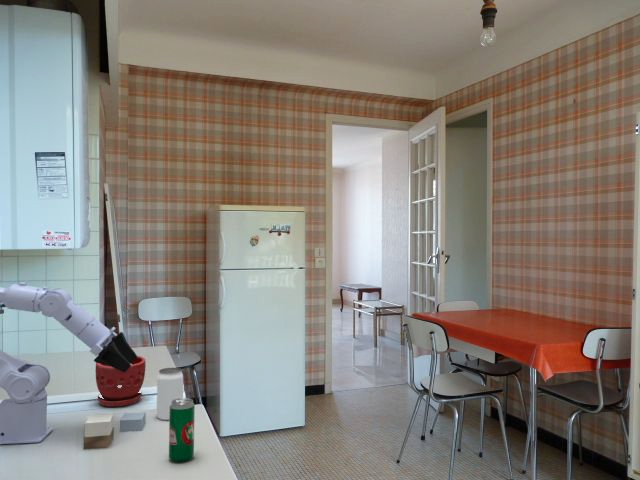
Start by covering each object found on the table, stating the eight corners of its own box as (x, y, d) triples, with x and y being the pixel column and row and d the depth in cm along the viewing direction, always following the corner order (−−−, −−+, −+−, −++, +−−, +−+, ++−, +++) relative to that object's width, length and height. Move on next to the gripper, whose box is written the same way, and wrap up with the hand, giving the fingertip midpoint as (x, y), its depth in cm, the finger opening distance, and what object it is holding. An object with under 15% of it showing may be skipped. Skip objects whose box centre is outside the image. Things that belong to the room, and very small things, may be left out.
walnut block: (83, 450, 107) (83, 436, 107) (90, 441, 112) (90, 428, 112) (107, 449, 107) (107, 435, 107) (113, 440, 112) (113, 427, 112)
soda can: (167, 455, 104) (168, 398, 104) (191, 451, 106) (192, 396, 106) (170, 465, 99) (171, 406, 99) (195, 461, 101) (196, 403, 101)
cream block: (85, 437, 106) (85, 423, 106) (89, 428, 111) (89, 415, 111) (109, 435, 108) (110, 421, 108) (113, 426, 113) (113, 413, 113)
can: (175, 421, 124) (175, 374, 124) (151, 419, 125) (152, 372, 125) (187, 413, 130) (187, 367, 130) (164, 411, 131) (165, 366, 131)
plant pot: (84, 406, 135) (84, 362, 135) (120, 392, 147) (121, 352, 147) (120, 412, 130) (121, 367, 130) (154, 398, 142) (155, 357, 142)
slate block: (119, 433, 117) (119, 420, 117) (124, 425, 122) (124, 413, 122) (141, 431, 117) (141, 419, 117) (145, 424, 122) (145, 412, 122)
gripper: (89, 321, 109) (137, 360, 111) (106, 309, 123) (148, 344, 125) (66, 345, 108) (115, 384, 110) (86, 330, 123) (128, 365, 125)
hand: (131, 364), depth 118 cm, fingers open, 7 cm apart
